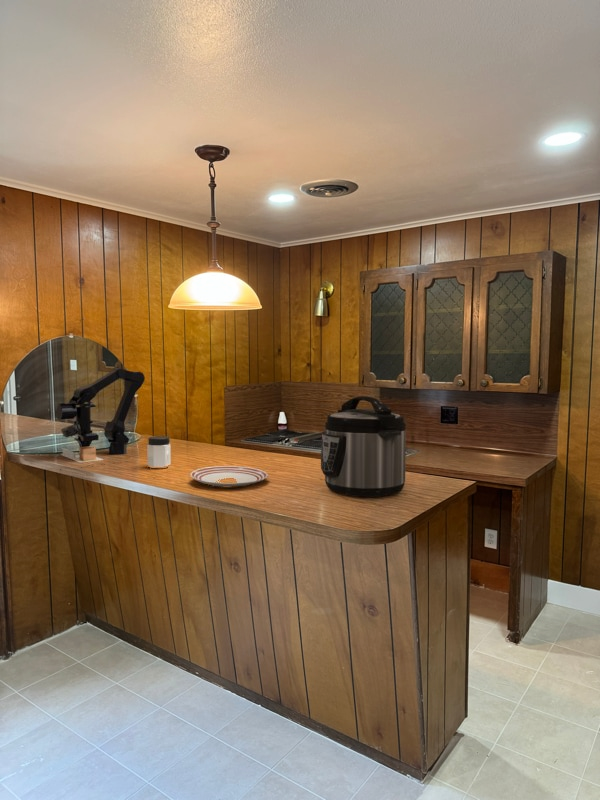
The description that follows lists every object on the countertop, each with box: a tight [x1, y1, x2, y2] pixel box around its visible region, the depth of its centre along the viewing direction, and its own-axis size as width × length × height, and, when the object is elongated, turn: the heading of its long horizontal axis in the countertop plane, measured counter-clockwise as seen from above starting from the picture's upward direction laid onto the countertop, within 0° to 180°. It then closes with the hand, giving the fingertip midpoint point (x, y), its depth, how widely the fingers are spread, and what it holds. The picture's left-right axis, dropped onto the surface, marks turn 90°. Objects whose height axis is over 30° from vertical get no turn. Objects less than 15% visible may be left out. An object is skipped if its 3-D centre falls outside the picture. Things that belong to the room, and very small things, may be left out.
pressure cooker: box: [320, 395, 407, 498], centre depth 187 cm, size 30×28×32 cm
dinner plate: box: [189, 465, 269, 487], centre depth 198 cm, size 27×27×3 cm
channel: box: [59, 447, 104, 463], centre depth 235 cm, size 24×10×4 cm, turn 41°
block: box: [78, 445, 97, 462], centre depth 228 cm, size 5×5×5 cm
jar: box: [146, 435, 171, 467], centre depth 222 cm, size 9×8×12 cm
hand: (83, 455), depth 232 cm, fingers closed
